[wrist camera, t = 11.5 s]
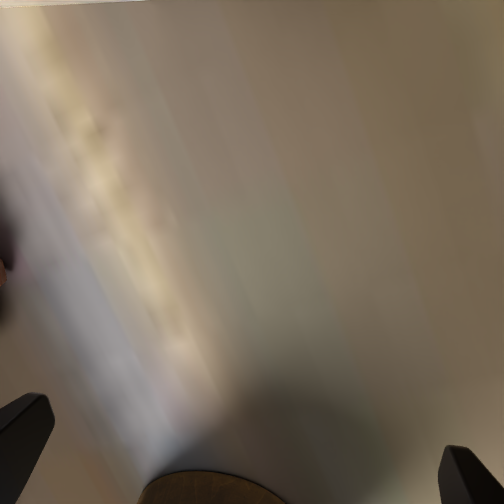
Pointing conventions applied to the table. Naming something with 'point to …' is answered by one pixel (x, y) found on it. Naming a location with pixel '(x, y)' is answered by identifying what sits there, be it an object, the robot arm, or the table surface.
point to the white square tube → (50, 2)
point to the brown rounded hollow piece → (2, 273)
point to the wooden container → (205, 490)
